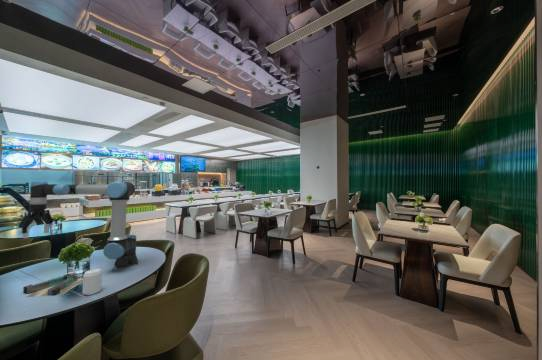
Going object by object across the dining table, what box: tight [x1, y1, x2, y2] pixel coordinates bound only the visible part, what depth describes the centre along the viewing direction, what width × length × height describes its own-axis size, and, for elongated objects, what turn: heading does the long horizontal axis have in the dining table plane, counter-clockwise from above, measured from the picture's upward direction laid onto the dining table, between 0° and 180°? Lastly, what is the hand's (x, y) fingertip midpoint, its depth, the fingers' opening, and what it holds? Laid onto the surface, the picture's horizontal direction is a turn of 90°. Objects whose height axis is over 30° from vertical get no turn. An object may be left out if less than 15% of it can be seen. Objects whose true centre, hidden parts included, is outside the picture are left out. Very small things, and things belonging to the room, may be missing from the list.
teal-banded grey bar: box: [46, 275, 78, 297], centre depth 120 cm, size 7×20×3 cm, turn 10°
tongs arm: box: [22, 272, 77, 294], centre depth 121 cm, size 6×21×4 cm, turn 155°
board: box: [25, 277, 83, 298], centre depth 120 cm, size 17×21×1 cm
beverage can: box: [82, 268, 103, 296], centre depth 116 cm, size 8×8×12 cm
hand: (36, 235), depth 136 cm, fingers open, 13 cm apart
